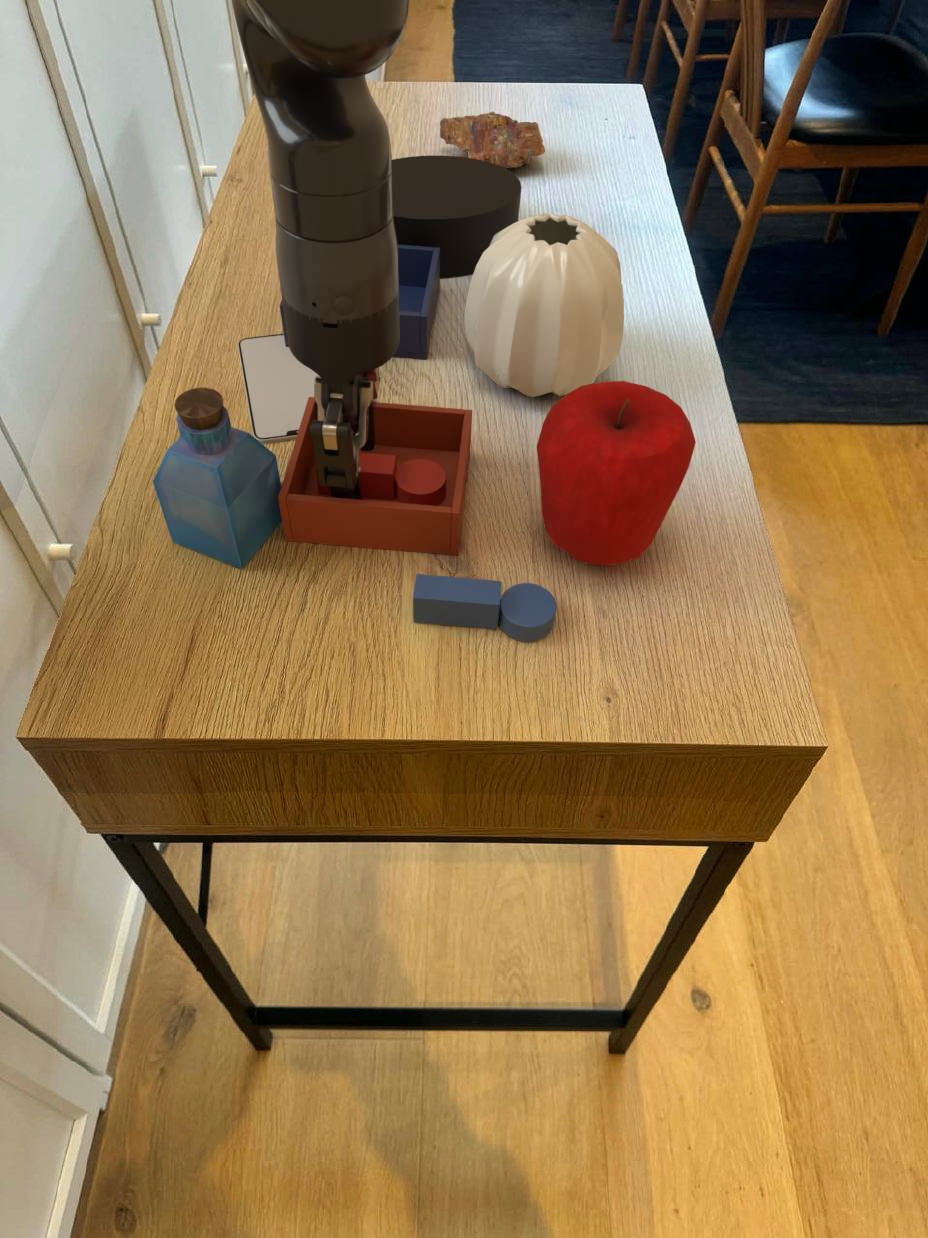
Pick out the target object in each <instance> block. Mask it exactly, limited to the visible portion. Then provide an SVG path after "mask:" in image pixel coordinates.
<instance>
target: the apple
mask: <svg viewBox="0 0 928 1238" xmlns="http://www.w3.org/2000/svg"><path fill="white" fill-rule="evenodd" d="M540 429H541V430H540V433H539V437H538V439H537V443H536V454H537V464H538V473H539V474H538V475H539V484H540V485H539V487H540V499H541V514H542V521H543V527H544V531H545V532H546V533H547V536H548V537H549V539H550V540H551V542H552V544H553V545H554V547H555V546H556V547H557V548H558V549H560V550H561V551H563V552H564V553H566V554H568V555H569V556H571V557H572V558H574V559H575V560H577V561H579V562H581V563H584V564H588V565H590V566H613V565H619V564H623V563H626V562H629V561H632V560H636V559H638V558H640V556H641V555H642V554H643V553H644V552H646V551H647V550H648V549H649V548H650V547H651V546H652V544H653V542H654V540H655V538H656V536H657V534H658V532H659V530H660V528H661V526H662V524H663V522H664V520H665V519H666V517H667V514H668V512H669V510H670V508H671V506H672V504H673V502H674V500H675V498H676V496H677V494H678V492H679V491H680V489H681V486H682V484H683V482H684V480H685V477H686V475H687V473H688V470H689V468H690V464H691V461H692V457H693V453H694V450H695V446H696V443H697V442H696V438H695V434H694V432H693V428H692V424H691V421H690V420H689V418H688V416H687V414H686V413H685V411H684V410H683V408H682V407H681V406H680V405H679V404H677V402H675V401H674V400H673V399H672V398H671V397H670V396H668V395H667V394H665V393H662V392H661V391H658V390H656V389H653V388H651V387H649V386H646V385H642V384H638V383H633V382H629V381H625V380H615V381H612V380H611V381H599V382H593V383H591V384H589V385H584V386H580V387H579V388H577V389H575V390H574V391H572V392H570V393H569V394H567V395H564V396H562V398H560V399H558V400H557V401H556V402H555V403H554V404H552V405H551V406H550V408H549V410H548V412H547V415H546V416H545V418H544V420H543V422H542V425H541V428H540Z"/></svg>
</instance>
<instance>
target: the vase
mask: <svg viewBox="0 0 928 1238" xmlns="http://www.w3.org/2000/svg"><path fill="white" fill-rule="evenodd" d="M624 299H625V298H624V289H623V283H622V267H621V262H620V259H619V255H618V252H617V250H616V249H615V247H613V246H612V245H611V243H609V241H607V239H605V238H604V237H603V236H602V235H601V234H600V233H598V232H597V231H596V230H595V229H593V228H592V227H591V226H590V225H588V224H587V223H585V222H582V221H580V220H579V219H577V218H575V217H573V216H570V215H567V214H565V215H564V214H563V215H557V214H555V213H552V212H550V213H549V212H547V213H543V214H539V215H530V216H527V217H526V218H521V219H520V220H518V222H515V223H513V224H512V225H510V226H508V227H506V228H505V229H503V230H501V231H500V232H498V233H496V234H495V235H494V237H493V239H492V241H491V243H490V245H489V247H488V248H487V249H486V250H485V251H484V252H483V253H482V255H481V257H480V259H479V261H478V263H477V265H476V267H475V270H474V273H473V274H472V277H471V279H470V285H469V289H468V293H467V296H466V302H465V303H466V304H465V307H464V308H465V309H464V325H463V326H464V327H463V328H464V333H465V334H464V335H465V340H466V342H467V343H468V345H469V347H470V348H471V350H472V352H473V353H474V361H475V362H474V363H475V365H476V366H477V367H478V368H479V369H480V370H481V371H482V372H483V373H484V374H485V375H486V376H488V377H489V378H490V379H491V380H492V381H493V382H494V383H496V385H498V386H499V387H501V388H507V389H508V388H513V389H515V390H517V391H518V392H520V393H522V394H523V395H524V396H526V397H529V398H535V397H539V396H542V395H546V394H549V393H551V394H554V395H555V396H558V397H564V396H565V395H567V394H569V393H570V392H572V391H574V390H575V389H577V388H579V387H580V386H584V385H589V384H594V383H595V381H596V379H597V378H598V377H599V376H600V375H601V374H602V373H604V372H605V371H606V370H607V369H608V368H609V367H610V366H612V365H613V364H614V363H615V362H616V360H617V358H618V356H619V353H620V351H621V347H622V341H623V339H624V338H623V336H624V323H625V300H624Z"/></svg>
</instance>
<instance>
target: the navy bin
mask: <svg viewBox="0 0 928 1238" xmlns="http://www.w3.org/2000/svg"><path fill="white" fill-rule="evenodd" d="M398 274H399V324H400V341H399V346H398V349H397V351H396V352H395V354H394V355H393V357H392V358H407V359H415V360H416V359H418V360H428V355H429V350H430V345H431V339H432V335H433V334H432V332H433V328H434V324H435V317H436V313H437V306H438V300H439V295H440V291H441V290H440V289H441V288H440V285H441V278H440V248H438V247H424V246H411V245H398ZM279 311H280V318H281V325H282V331H283V334H284V339H285V346H286V347H289V345H288V340H287V332H286V325H285V317H284V310H283V303H282V299H281V300H280V303H279Z"/></svg>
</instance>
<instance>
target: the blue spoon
mask: <svg viewBox="0 0 928 1238" xmlns="http://www.w3.org/2000/svg"><path fill="white" fill-rule="evenodd" d="M502 583H503V582H502V581H501V580H493V579H482V578H481V579H480V578H469V577H457V576H456V577H455V576H446V575H435V574H422V573H417V574H416V575H415V581H414V587H413V595H412V615H413V617H412V619H413V620H412V621H413V623H418V624H427V625H428V624H429V625H438V626H439V625H440V626H452V627H453V626H454V627H462V628H463V627H464V628H473V629H474V628H475V629H487V630H498V629H499V627H500V629H501V630H502V631H503V633H504V634H505V635H507V636H508V637H509V638H510V639H513V640H514V641H518V642H523V643H533V642H538V641H541V640H543V639H544V638H546V637H547V636H549V634H550V633H551V632H552V630H553V628H554V626H555V620H556V614H557V609H558V608H557V607H558V605H557V601H556V598H555V597H554V595H553V594H552V592H551V591H549V590H548V589H547V588H545V587H543V586H541V585H539V584H535V583H530V582H524V583H517V584H515V585H512V586H510V587H508V588H507V589H506V590H505V591H504V592H503V593H502Z"/></svg>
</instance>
